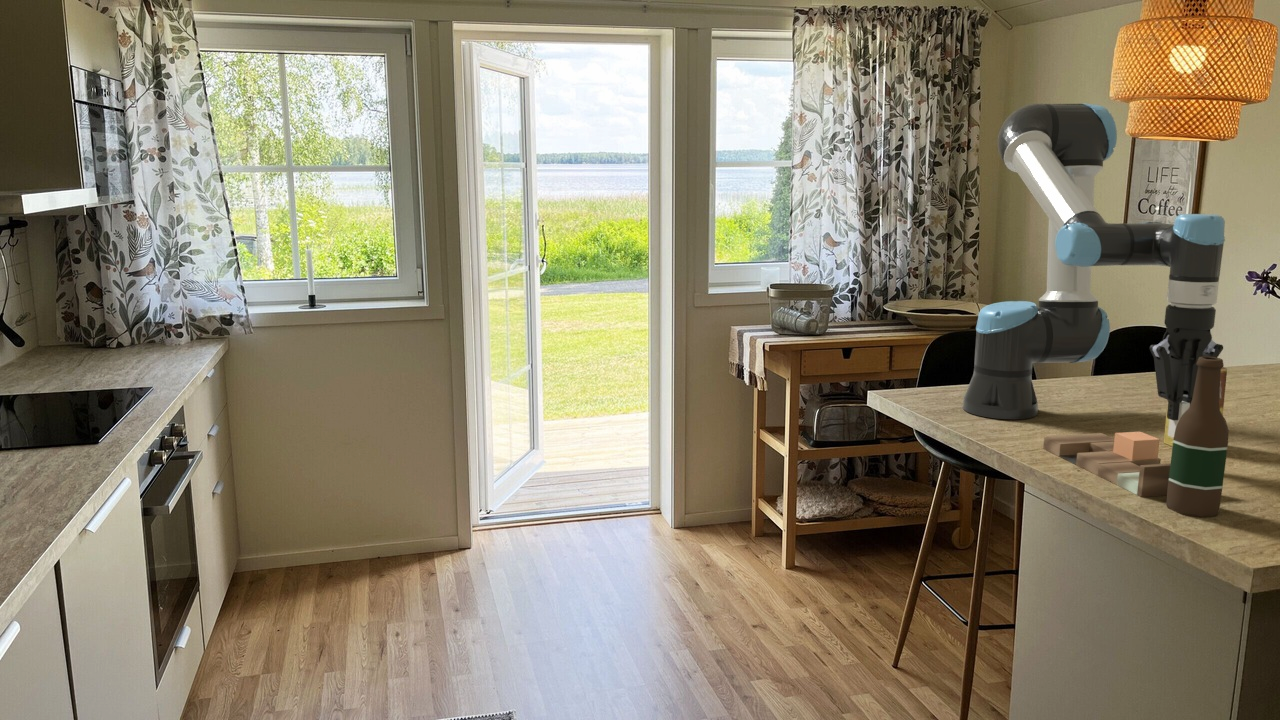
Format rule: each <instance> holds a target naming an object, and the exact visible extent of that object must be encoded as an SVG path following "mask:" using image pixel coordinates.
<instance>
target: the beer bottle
mask: <svg viewBox="0 0 1280 720" xmlns="http://www.w3.org/2000/svg"><path fill="white" fill-rule="evenodd" d="M1196 365H1197V366H1198V371H1197V376H1196V382H1195V387H1194V392H1193V398H1192V401H1191V405H1190V407H1189V408H1188V409H1187V410H1186V412H1185V413H1184V414H1183V415H1182V416H1181V418H1180V420H1179V422H1178V423H1177V426H1176V429H1175V434H1174V439H1173V447H1172V446H1171V457H1170V458H1171V459H1170V463H1171V464H1170V473H1169V481H1168V490H1167V495H1166V507H1167V509H1169V510H1171V511H1174V512H1175V511H1176V513H1177V514H1180V515H1183V516H1184V515H1185V516H1190V517H1191V516H1192V517H1197V518H1209V517H1217V516H1218V515H1219V512H1220V507H1221V503H1222V502H1221V500H1222V494H1223V486H1224V479H1225V478H1224V477H1225V471H1226V463H1227V454H1228V448H1229V447H1228V446H1229V428H1228V424H1227V420H1226V418H1225V417H1224V414H1223V415H1222V413H1221V412H1220V405H1219V394H1220V376H1221V368H1222V367H1224V360H1223V359H1222V358H1220V357H1209V356H1204V357H1199V359H1198V361H1197V363H1196Z"/></svg>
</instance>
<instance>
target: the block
mask: <svg viewBox="0 0 1280 720" xmlns="http://www.w3.org/2000/svg"><path fill="white" fill-rule="evenodd" d="M1160 440H1161V439H1160V438H1158V437H1155V436H1152V435H1150V434H1148V433H1146V432H1142V431H1128V432H1127V431H1126V432H1114V449H1113V452H1114V453H1117V454H1119V455H1121V456H1123V457H1126V458H1128V459H1130V460H1146V459H1158V458H1159V448H1160Z"/></svg>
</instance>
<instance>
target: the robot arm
mask: <svg viewBox="0 0 1280 720" xmlns="http://www.w3.org/2000/svg"><path fill="white" fill-rule="evenodd" d="M1117 132H1118V130H1117V124H1116V121H1115V119H1114V117H1113V115H1112V113H1110V112H1109V110H1108V109H1107V108H1106V107H1104V106H1103V105H1101V104H1100V105H1099V104H1089V103H1085V102H1084V103H1083V102H1081V103H1031V104H1027V105H1023V106H1021V107H1019V108H1017V109H1016V110H1014V111H1013V112H1012V113H1010V114H1009V116H1007V118H1006V119H1005V120H1004V122H1003V123H1002V125H1001V127H1000V129H999V132H998V136H997V150H998V151H997V152H998V155H999V157H1000V159H1001V161H1002V162H1003V163H1004V165H1005V166H1006V168H1007V169H1008V170H1010V171H1011V172H1014V173H1017V174H1018V176H1019V177H1020V179H1021V180H1022V181H1023V183H1024V184H1025V186H1026V188H1027V189H1028V190H1029V192H1030V193H1031V194H1032V196H1033V197H1034V200H1036V202H1037V203H1038V204H1039V207H1040V208H1041V209H1042V211H1043V213H1044V214H1045V215H1046V216H1047V218H1048V229H1047V230H1048V233H1047V236H1048V237H1047V238H1048V239H1047V267H1046V268H1047V269H1046V271H1047V272H1046V291H1045V293H1044V294H1043V295H1042V296H1040V297H1039V298H1038V305H1037V304H1036V303H1035V302H1033V301H1025V300H1015V301H1014V300H1011V301H1010V300H1009V301H1008V300H1007V301H1001V302H1000V301H999V302H995V303H991V304H988V305H985V306H984V307H982V308H981V309H980V310H979V313H978V315H977V316H978V317H977V320H976V321H977V322H976V326H975V330H976V334H975V335H976V336H975V349H974V366H973V367H974V368H973V374H972V376H971V379H970V382H969V384H968V386H967V388H966V391H965V394H964V396H963V401H962V409H963V410H964V411H965V412H967V413H969V414H972V415H975V416H979V417H984V418H989V419H998V420H1025V419H1026V420H1027V419H1031V418H1034V417H1036V416H1038V410H1039V403H1038V398H1037V395H1036V392H1035V391H1036V390H1035V388H1034V383H1033V379H1032V376H1033V375H1032V374H1033V364H1039V363H1040V364H1041V363H1042V364H1043V363H1045V364H1046V363H1047V364H1048V363H1051V364H1052V363H1070V364H1071V363H1072V364H1077V363H1080V362H1081V363H1082V362H1089V361H1090V362H1091V361H1092V360H1094V359H1097V358H1098V357H1099V356H1100V355H1101V354H1102V353H1103V351H1104V349H1105V348H1106V346H1107V344H1108V341H1109V337H1110V332H1111V325H1110V323H1111V322H1110V319H1109V317H1108V314H1107V312H1106V311H1105V310H1104V309H1103V308H1101V307H1099V299H1098V297H1096V296H1095V294H1093V293H1092V291H1091V289H1092V267H1101V266H1102V267H1105V266H1106V267H1107V266H1109V267H1110V266H1160V267H1169V276H1168V284H1167V285H1168V286H1167V291H1166V301H1167V302H1168V303H1169V304H1168V305H1167V306H1165V313H1164V321H1163V322H1164V326H1165V328H1166V330H1165V332H1164V335H1163V337H1162V340H1161V341H1160V342H1159V343H1158V344H1151V345H1150V346H1149V351H1150V353H1151V355H1152V357H1153V361H1154V363H1153V364H1154V371H1155V372H1154V373H1155V379H1156V387H1157V395H1158V397H1159V398H1163V399H1165V400H1167V404H1168V409H1167V408H1166V413H1167V418H1168V419H1169V428H1168V436H1170V437H1173V438H1174V434H1175V429H1176V426H1177V423H1178V422H1179V420H1180V418H1181V416H1182V415H1183V414H1184V413H1185V412H1186V410H1187V409H1188V408H1189V407H1190V405H1191V401H1192V398H1193V392H1194V387H1195V382H1196V376H1197V371H1198V366H1197V365H1196V363H1197V361H1198V359H1199V357H1204V356H1209V357H1217V358H1219V356H1220V355H1221V353H1222V351H1223V350H1224V346H1223V344H1220V343H1216V342H1215V341H1214V340H1213V335H1212V332H1211V330H1212V329H1214V327H1215V323H1216V321H1215V320H1216V312H1217V311H1216V308H1215V307H1214V306H1213V305H1216V304H1217V303H1218V294H1219V293H1218V292H1219V283H1220V275H1221V266H1222V259H1223V250H1224V245H1225V241H1226V238H1225V223H1226V220H1225V218H1224V217H1223V216H1221V215H1218V214H1205V213H1202V214H1201V213H1183V214H1178V215H1177V216H1176V218H1175V220H1174V223H1163V222H1160V221H1147V222H1139V223H1137V222H1135V223H1124V222H1123V223H1112V222H1111V223H1108V222H1106V220H1105V219H1104V218H1103V216H1102V215H1101V214H1100V213H1099V211H1098V210H1097V209H1096V208H1095V206H1094V205H1095V204H1094V203H1095V201H1094V198H1095V178H1096V176H1097V175H1098V174H1099V173H1100V172H1101V171H1102V170H1103V168H1104V162H1105V161H1106V160H1109V158H1110V157H1111V156H1112V155H1113V153H1114V148H1115V147H1116V145H1117V140H1118V133H1117ZM1167 410H1168V411H1167Z"/></svg>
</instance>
